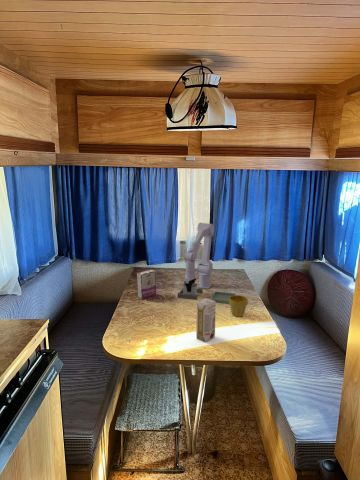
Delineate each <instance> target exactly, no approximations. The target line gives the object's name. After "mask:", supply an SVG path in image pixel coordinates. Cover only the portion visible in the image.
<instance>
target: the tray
mask: <svg viewBox="0 0 360 480" xmlns="http://www.w3.org/2000/svg"><path fill="white" fill-rule="evenodd" d="M233 295H237V294H236V293H233V292H225V291H224V292H223V291H217V290H216V291H214V292H213V294H211V296H210V297H209V299H211V300H214V301H215V303H218V304H227V305H230V304H229V297H230V296H233Z"/></svg>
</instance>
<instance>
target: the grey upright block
mask: <svg viewBox="0 0 360 480" xmlns="http://www.w3.org/2000/svg"><path fill="white" fill-rule="evenodd" d="M182 287H183V288H182V289H183V294H188V295H197V294H198V293H197V289H198V283H196V282H195V283H193V284H192V288H191V292H187V288H186V285H185V284H184V283H183V284H182Z"/></svg>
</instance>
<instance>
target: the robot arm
mask: <svg viewBox="0 0 360 480" xmlns="http://www.w3.org/2000/svg"><path fill="white" fill-rule="evenodd" d="M196 228H197V229H196V230H197V233H196V236H195V239H194V241H193V242H191V243H190V246H189V248H188V251H186V252H185V253H184V255H183V259H184V260H183V261H184V263H185V275H184V276H183V278H184V282H183V284H185V285H186V288H187V292H191V288H192V284H193V283H195V284H196V280H197V278H196V274H195V273H196V271H197V273H198V275H199V278H198V280H199V281H198V282H199V285H197V289H208V290H209V289H210V288H211V287H212V285H213V284H212V283H211V282H212V281H211V280H212V279H211V275H212V273H213V270H214V268H213V263H212V262H211V261H210V258H211V257H210V255H211V246H212V237H213V236H214V233H215V225H214V224H213V223H206V222H205V223H203V222H199V223H198V224H197V227H196ZM202 240H203V246H202V253H201V260H199V261H198V262H197V266H196V261H197V257H198V252H199V249H200V247H201V246H200V243H201V242H202ZM195 267H196V268H195Z"/></svg>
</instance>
